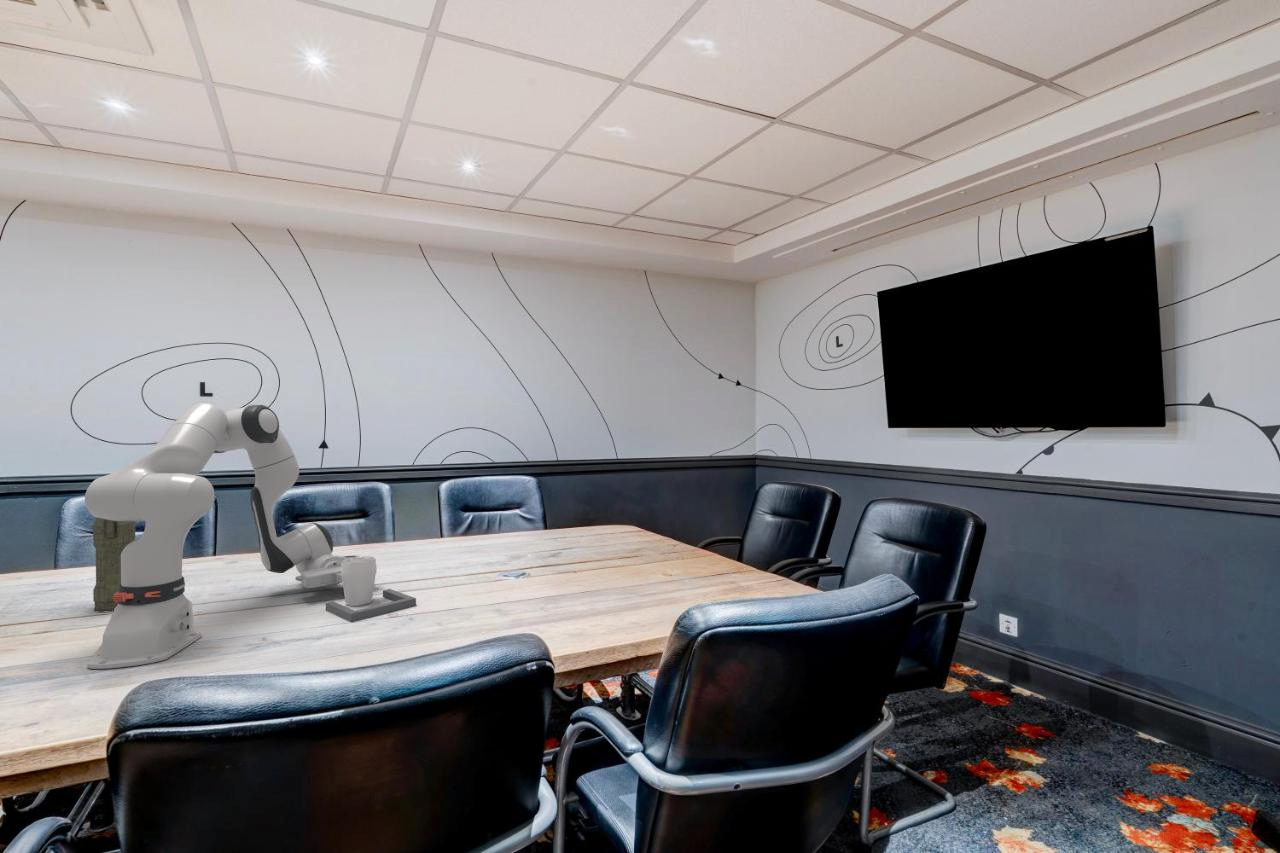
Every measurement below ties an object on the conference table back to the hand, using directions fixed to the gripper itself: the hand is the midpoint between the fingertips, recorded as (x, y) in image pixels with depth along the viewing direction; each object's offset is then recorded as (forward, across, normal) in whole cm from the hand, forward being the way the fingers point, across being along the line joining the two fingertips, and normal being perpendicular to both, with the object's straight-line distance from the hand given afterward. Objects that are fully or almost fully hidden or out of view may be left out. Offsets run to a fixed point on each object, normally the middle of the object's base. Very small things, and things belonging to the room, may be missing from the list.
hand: (351, 578), depth 176 cm
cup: (+4, 0, +6) cm, 8 cm away
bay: (+12, 0, +6) cm, 13 cm away
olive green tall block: (-42, -45, +6) cm, 62 cm away
